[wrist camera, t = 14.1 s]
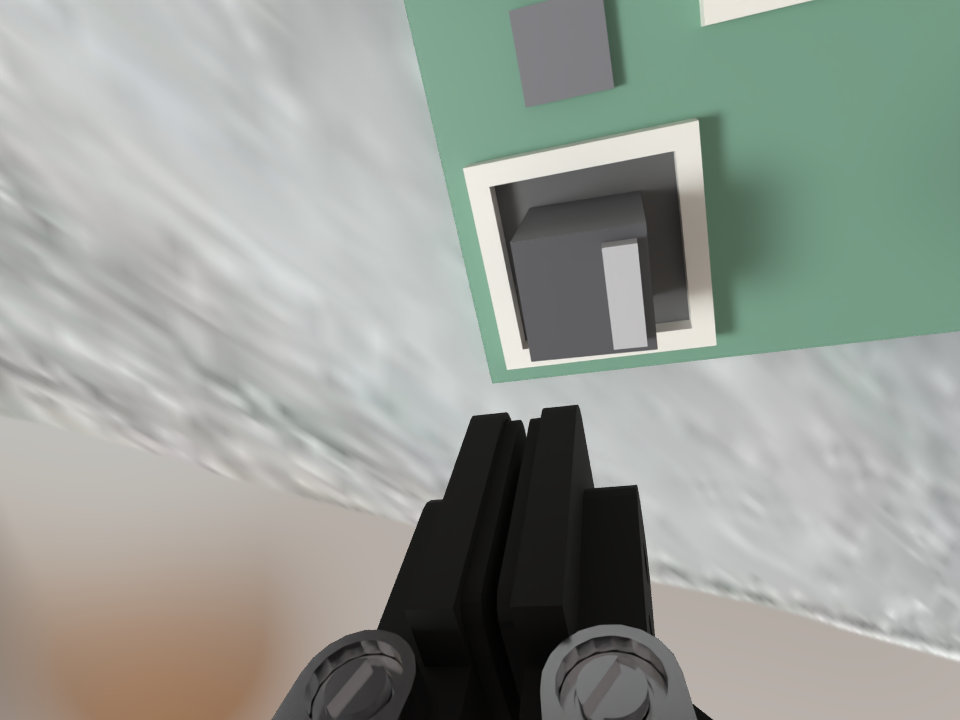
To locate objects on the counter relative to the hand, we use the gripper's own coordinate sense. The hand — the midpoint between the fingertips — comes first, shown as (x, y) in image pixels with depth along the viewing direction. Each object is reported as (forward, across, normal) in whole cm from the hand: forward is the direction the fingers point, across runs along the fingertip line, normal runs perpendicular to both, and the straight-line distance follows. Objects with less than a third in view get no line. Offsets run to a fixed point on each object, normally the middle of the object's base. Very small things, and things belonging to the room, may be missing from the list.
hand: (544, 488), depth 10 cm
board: (+17, -4, -3) cm, 18 cm away
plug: (+15, 0, +1) cm, 16 cm away
